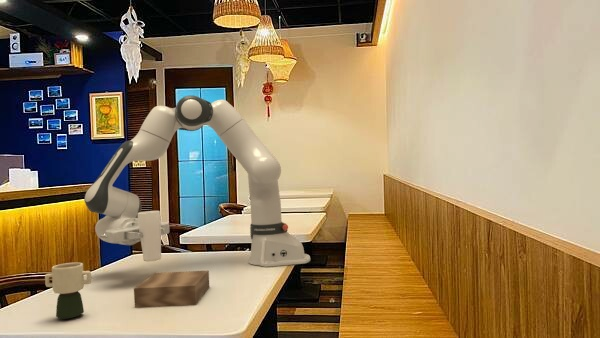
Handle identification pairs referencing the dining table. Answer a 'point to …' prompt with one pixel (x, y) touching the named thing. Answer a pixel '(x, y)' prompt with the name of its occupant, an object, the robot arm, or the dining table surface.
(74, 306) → the character mug
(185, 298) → the walnut riser dock
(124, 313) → the dining table surface
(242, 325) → the dining table surface
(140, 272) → the dining table surface
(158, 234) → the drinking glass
